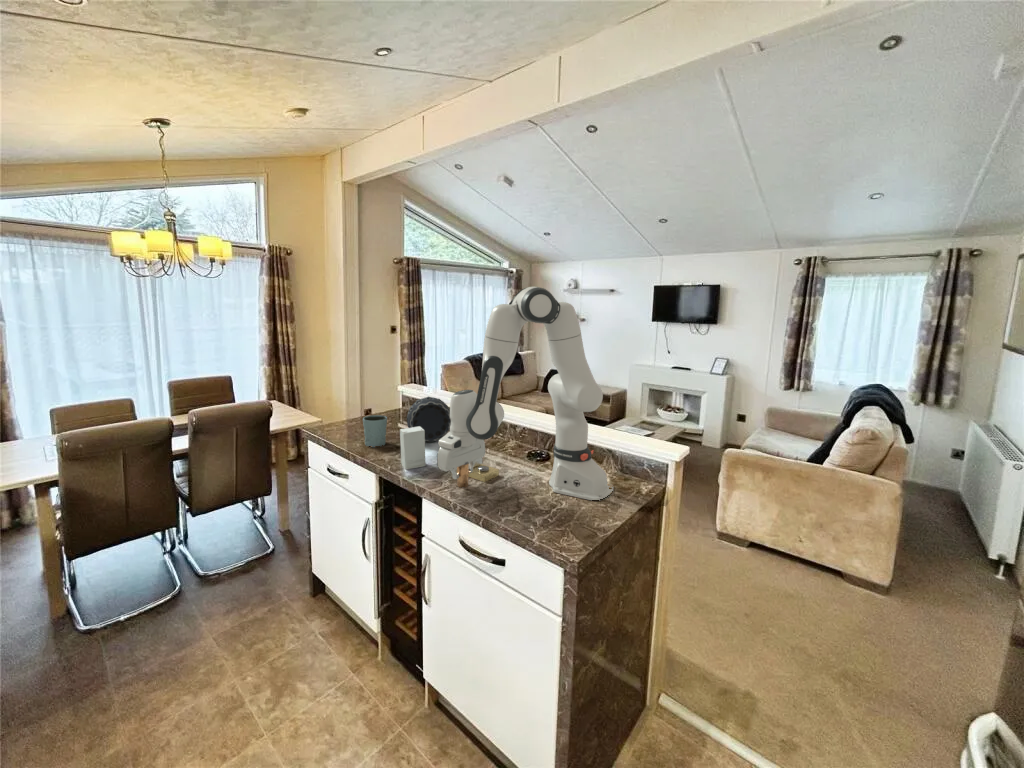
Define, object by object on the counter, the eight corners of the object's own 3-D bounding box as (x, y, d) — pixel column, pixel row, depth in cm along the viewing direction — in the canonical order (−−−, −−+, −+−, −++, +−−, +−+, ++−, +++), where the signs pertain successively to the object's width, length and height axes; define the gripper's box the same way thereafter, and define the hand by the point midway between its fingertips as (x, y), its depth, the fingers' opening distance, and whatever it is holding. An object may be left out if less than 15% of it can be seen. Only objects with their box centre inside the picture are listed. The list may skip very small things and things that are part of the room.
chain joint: (498, 475, 162) (499, 460, 161) (484, 482, 155) (484, 466, 154) (452, 460, 176) (451, 446, 175) (437, 466, 170) (437, 451, 168)
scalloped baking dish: (406, 438, 203) (405, 396, 199) (449, 435, 209) (449, 394, 205) (408, 445, 193) (407, 401, 189) (453, 442, 199) (453, 399, 195)
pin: (470, 485, 153) (471, 460, 151) (462, 488, 150) (462, 463, 148) (462, 482, 155) (462, 457, 153) (454, 485, 152) (454, 460, 150)
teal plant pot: (358, 445, 191) (357, 418, 189) (374, 439, 200) (373, 413, 198) (377, 449, 187) (376, 421, 185) (392, 442, 197) (391, 416, 194)
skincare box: (421, 461, 174) (420, 425, 171) (426, 467, 168) (425, 429, 166) (400, 465, 169) (399, 428, 167) (404, 470, 164) (403, 432, 162)
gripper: (476, 428, 159) (476, 465, 162) (434, 442, 143) (434, 482, 146) (489, 432, 155) (489, 469, 158) (448, 446, 139) (448, 487, 142)
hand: (462, 475), depth 152 cm, fingers open, 5 cm apart
